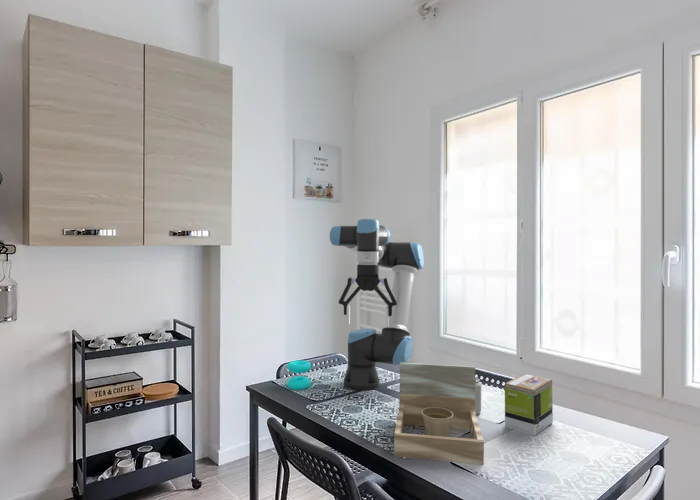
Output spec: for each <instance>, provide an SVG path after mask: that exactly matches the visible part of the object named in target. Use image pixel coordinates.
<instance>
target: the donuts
mask: <svg viewBox="0 0 700 500" xmlns="http://www.w3.org/2000/svg"><path fill="white" fill-rule="evenodd" d="M286 368H287V370H288V371H289V372H291V373H293V374H304V373H307V372H309V371H310V370H311V369H312V363H311V362H309V361H308V360H300V359H298V360H292V361H290V362H288V364H287V365H286ZM286 386H287V387H288V388H289V389H291V390H295V391H299V390H301V391H302V390H307V389H309V388H310V387H311V386H312V380H311V379H310V378H308V377H306V376H302V375H299V376H298V375H296V376H292V377H291V378H289V379H288V380H287V382H286Z"/></svg>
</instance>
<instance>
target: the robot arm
mask: <svg viewBox="0 0 700 500" xmlns="http://www.w3.org/2000/svg"><path fill="white" fill-rule="evenodd" d="M379 222H380V221H379V220H378V219H377V218H360V219H358V220H357V223H356V225H341V224H340V225H336V226H332V227H331V229H330V231H329V241H330V243H331V245H332V246H334V247H335V246H337V247H340V246H341V247H345V248H347V249H349V250H351V251H353V252H355V253H356V262H357V263H358V264H357V265H356V278H354V277H352V276H350V277H348V278H347V284H346V285H345V288H344V290H343V292H342V294H341V296H340V298H339V300H338V304H339V305H342V306H343V315H344V316H345V315H346V325H347V326H350V324H351V305H350V304H349V303H351V301H352V300H353V298H355V296H356V295H358V293H359V292H360V291H363V292H366V291H369V292H373V291H375V293H377V294H378V296H379V297H380V298H381V300H383V302H384V303H385V304H386V307H385V326H384V327H382V328H381V333H377V330H376V329H375V328H361V329H356V330H353V331H351V332H349V333H348V336H347V337H348V338H347V367H346V368H347V369H346V371H345V373H344V374H345V375H344V377H343V387H344V388H346V389H348V390H352V391H358V392H359V391H360V392H361V391H362V392H364V391H365V392H366V391H372V390H373V391H374V390H376V389H378V388H379V387H380V382H381V381H380V377H379V374H378V371H377V367H376V363H380V364H386V365H387V364H388V365H394V366H400V363H409V361H410V359H411V357H412V355H413V350H414V338H413V337H412V336H411V332H410V331H409V330H408V325H409V324H408V323H409V316H410V309H411V303H412V295H413V288H414V281H415V277H416V276H418V274H419V270H422V269H424V267H425V266H424V265H425V258H424V250H423V248H422V244H420V243H419V242H412V241H410V242H402V241H401V242H400V241H399V242H397V241H393V242H390V240H391V232H390V230H389V228H388V227H386V226H384V225H381V224H380V223H379ZM380 267H382V268H386V269H387V268H389V269H391V271H392V272H393V274H394V275H393V280H392V281H393V282H392V288H391V287H390V285H389V278H387V277H384V278H380V275H379V274H380V273H379V270H380ZM355 283H356V285H357V287H356V288H355V290H353V292H352V293H351V294H350V296H349V297H348V298H347V299H346V297H347V296H348V293H349V291H350V288H351V286H352V285H353V284H355ZM380 283H381V284H382V285H384V288H385V290H386V292H387V294H388V296H389V298H390V299H389V298H388V297H387V295H386V294H385V293H384V292H383V291H382V289H381V288H380V287H379V284H380Z"/></svg>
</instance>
